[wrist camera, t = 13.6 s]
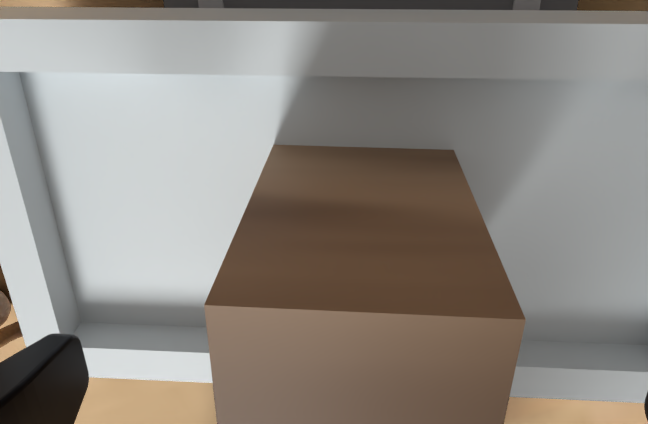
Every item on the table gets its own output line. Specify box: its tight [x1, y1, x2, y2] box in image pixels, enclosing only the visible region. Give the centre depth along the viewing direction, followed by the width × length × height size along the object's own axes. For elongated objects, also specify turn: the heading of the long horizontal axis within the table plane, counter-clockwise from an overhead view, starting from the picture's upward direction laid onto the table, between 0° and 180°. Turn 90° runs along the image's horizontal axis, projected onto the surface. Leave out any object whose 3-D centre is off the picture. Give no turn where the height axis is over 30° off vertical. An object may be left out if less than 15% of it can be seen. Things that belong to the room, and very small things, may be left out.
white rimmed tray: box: [0, 7, 648, 403], centre depth 14 cm, size 9×17×4 cm, turn 90°
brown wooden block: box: [204, 145, 526, 424], centre depth 10 cm, size 4×4×6 cm
